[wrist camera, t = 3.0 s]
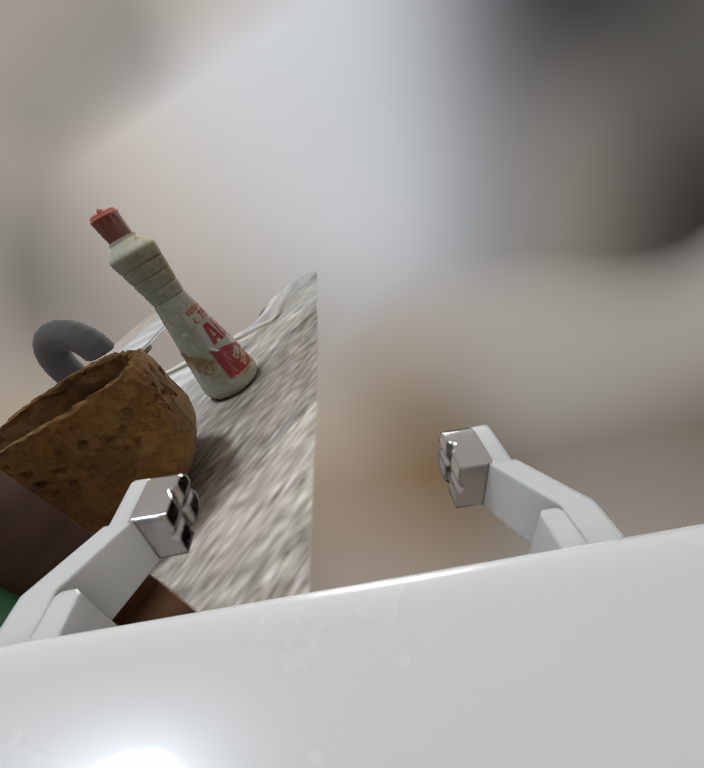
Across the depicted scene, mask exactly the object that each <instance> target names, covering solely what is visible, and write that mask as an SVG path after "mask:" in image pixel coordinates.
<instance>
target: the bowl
mask: <svg viewBox="0 0 704 768" xmlns="http://www.w3.org/2000/svg"><path fill="white" fill-rule="evenodd" d="M196 433H197V429H196V415H195V411H194V408H193V405H192V403H191V401H190V399H189V397H188V396H187V394H186V393H185V392H184V391H183V390H182V389H181V388H180V387H179V386H178V385H177V384H176V383H175V382H174V381H173V380H172V379H171V378H170V377H169V376H168V375H167V374H166V373H165V371H164V370H163V369H162V367H161V366H160V365H159V364H157V362H156V361H155V360H154V359H153V358H152V357H150V356H149V355H148V354H147V353H146V352H145V351H143V350H142V349H138V350H135V351H134V350H127V351H126V352H124V351H122V352H120V353H116V352H114V353H112V354H110V355H107V356H104V357H102V358H101V359H99V360H97V361H96V362H92V363H90V364H89V365H88V366H86V367H83V368H81V369H80V370H79V371H78V372H75V373H73V374H71V375H69V376H68V377H66V378H65V379H64V380H62V381H60V382H59V383H58V384H57V385H55V386H54V387H53V388H51V389H49V390H48V391H46V392H45V393H44V394H42V395H40V396H38V397H36V398H34V399H33V400H32V401H31V402H30V403H29V404H27V405H26V406H24V407H23V408H22V409H20V410H19V411H18V412H17V413H15V414H14V415H13V416H12V417H10V418H9V419H8V421H7V423H5V424H4V425H3V426H1V427H0V470H1V471H2V472H4V473H5V474H7V475H8V476H10V477H11V478H12V479H14V480H15V481H17V482H18V483H20V484H21V485H22V486H24V487H25V488H27V489H28V490H30V491H31V492H33V493H34V494H35V495H37V496H38V497H40V498H41V499H43V500H44V501H45V502H47V503H48V504H50V505H51V506H53V507H54V508H56V509H57V510H58V511H60V512H61V513H63V514H64V515H66V516H67V517H68V518H70V519H71V520H73V521H74V522H76V523H77V524H79V525H80V526H81V527H83V528H84V529H86V530H87V531H89V532H90V533H91V534H93V535H94V534H96V533H97V532H98V531H99V530H100V529H102V528H103V527H105V526H109V525H110V523H111V521H112V519H113V517H114V515H115V513H116V511H117V509H118V507H119V505H120V504H121V502H122V500H123V498H124V496H125V494H126V492H127V490H128V488H129V486H130V485H131V483H133V482H134V481H135V480H142V479H149V478H154V477H161V476H169V475H176V474H187V475H188V473H189V470H190V468H191V466H192V464H193V461H194V458H195V453H196Z"/></svg>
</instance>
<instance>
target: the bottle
mask: <svg viewBox="0 0 704 768" xmlns="http://www.w3.org/2000/svg"><path fill="white" fill-rule="evenodd" d="M90 222H91V225H92V226H93V227H94V229H96V231H97V232H98V233H99V234H100V235H101V236H102V237H103V238H104V239H105V240H106V241H107V242H108V243H109V244H110V245H109V247H110V254H109V264H110V266H111V267H112V268H113V269H114V270H115V271H116V272H117V273H119V274H120V275H122V276H123V278H124V279H125V280H126V281H127V282H128V283H129V284H131V285H132V286H134V288H135V289H136V290H137V291H138V292H139V293H140V294H141V295H143V296H144V297H145V299H146V300H147V301H149V303H151V304H152V305H153V306H154V307H155V310H156V312H157V313H158V315H159V317H160V318H161V320H162V322H163V323H164V325H165V327H166V328H167V330H168V332H169V333H170V335H171V337H172V338H173V340H174V342H175V343H176V345H177V347H178V349H179V350H180V352H181V355H182V356H183V357H184V359H185V361H186V363H187V364H188V366H189V368H190V370H191V371H192V373H193V375H194V376H195V378H196V379H197V381H198V383H199V384H200V386H201V387H202V389H203V391H204V392H205V394H206V395H208V396H209V397H211V398H216V399H219V400H223V398H226V397H231V396H233V395H235V394H237V393H239V392H241V391H242V390H243V389H244V388H246V386H247V385H248V384H250V382H251V381H252V380H253V378H254V377H255V375H256V372H257V366H256V362H255V360H254V359H253V358H252V357H250V356H249V355H248V353H247V352H246V351H245V350H244V349H243V348H242V347H241V346H240V343H239V342H238V341H237V340H235V339H234V338H233V337H232V336H231V335H230V334H229V333H227V332H226V331H225V330H224V329H223V328H222V327H221V326H220V325H219V324H218V323H217V322H216V321H215V320H213V318H212V317H211V316H210V315H209V314H208V313H207V312H206V311H205V310H204V309H203V308H202V307H201V306H200V305H199V304H198V303H197V302H196V301H195V300H194V299H193V298H192V297H191V296H189V294H188V293H186V291H184V290H183V288H182V286H181V284H180V283H179V281H178V279H177V278H176V277H175V274H174V273H173V271H172V269H171V268H170V266H169V265H168V263H167V261H166V259H165V258H164V256H163V255H162V254H161V251H160V249H159V247H158V246H157V244H156V242H155V241H154V240H153V239H151V238H148V237H145V236H142V235H138V234H136V233H134V232H131V230H130V228H129V227H128V226H127V224H126V223H125V221H124V220H123V218H122V217H121V216H120V214H119V212H118V210H117V209H115V208H113V207H110V208H108V209H106V210H101V209H97V213H96V214H95V215H93V216H92V217H91V218H90Z"/></svg>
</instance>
